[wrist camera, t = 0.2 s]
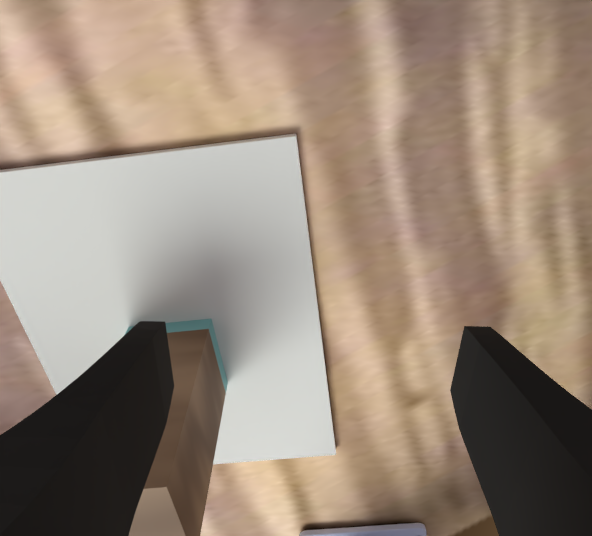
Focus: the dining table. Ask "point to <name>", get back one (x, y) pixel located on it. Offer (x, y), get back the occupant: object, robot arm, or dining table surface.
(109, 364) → the robot arm
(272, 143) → the grey mat
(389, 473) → the dining table surface
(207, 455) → the walnut block
